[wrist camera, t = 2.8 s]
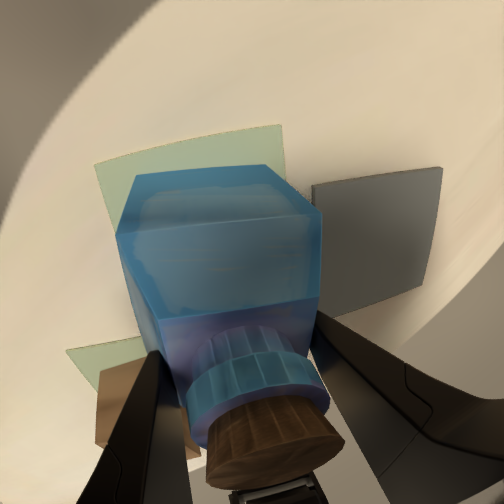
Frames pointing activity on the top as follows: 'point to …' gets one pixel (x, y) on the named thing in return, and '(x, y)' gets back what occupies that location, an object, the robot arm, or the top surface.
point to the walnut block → (114, 396)
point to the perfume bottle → (233, 315)
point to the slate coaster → (375, 236)
